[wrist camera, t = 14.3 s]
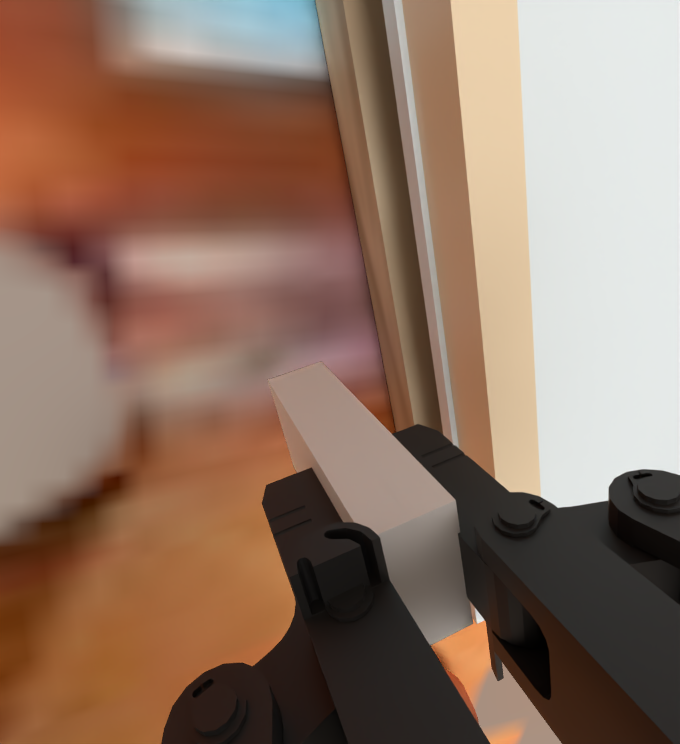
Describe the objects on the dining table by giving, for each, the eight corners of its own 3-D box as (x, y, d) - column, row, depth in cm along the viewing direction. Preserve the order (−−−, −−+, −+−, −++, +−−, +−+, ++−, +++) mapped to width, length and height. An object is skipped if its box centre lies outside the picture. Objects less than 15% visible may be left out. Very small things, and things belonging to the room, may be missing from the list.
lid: (468, 612, 21) (508, 665, 19) (358, -166, 11) (415, -258, 9) (691, 499, 24) (749, 532, 22) (768, -195, 14) (893, -271, 11)
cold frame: (420, 562, 24) (455, 609, 21) (298, -89, 14) (335, -153, 11) (800, 384, 30) (863, 404, 27) (909, -156, 20) (1027, -208, 17)
